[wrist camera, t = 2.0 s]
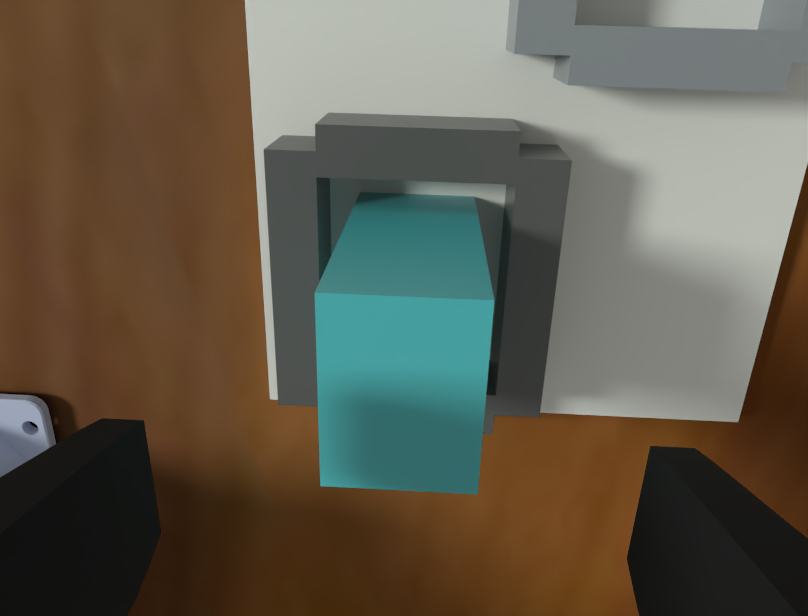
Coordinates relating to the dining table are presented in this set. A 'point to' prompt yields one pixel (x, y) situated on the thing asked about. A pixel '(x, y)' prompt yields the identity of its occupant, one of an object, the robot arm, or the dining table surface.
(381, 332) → the plug
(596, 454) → the dining table surface
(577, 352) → the panel
